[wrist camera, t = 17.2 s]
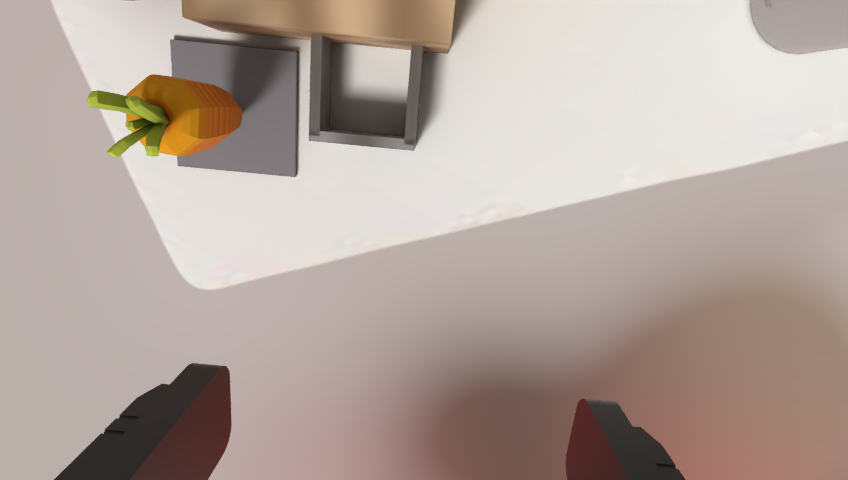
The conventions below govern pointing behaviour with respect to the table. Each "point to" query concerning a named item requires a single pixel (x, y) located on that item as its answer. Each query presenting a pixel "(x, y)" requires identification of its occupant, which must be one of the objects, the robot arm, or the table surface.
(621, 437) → the robot arm
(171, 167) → the table surface
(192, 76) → the rubber mat
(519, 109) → the table surface
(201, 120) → the carrot
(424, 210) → the table surface
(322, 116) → the wooden drawer box
